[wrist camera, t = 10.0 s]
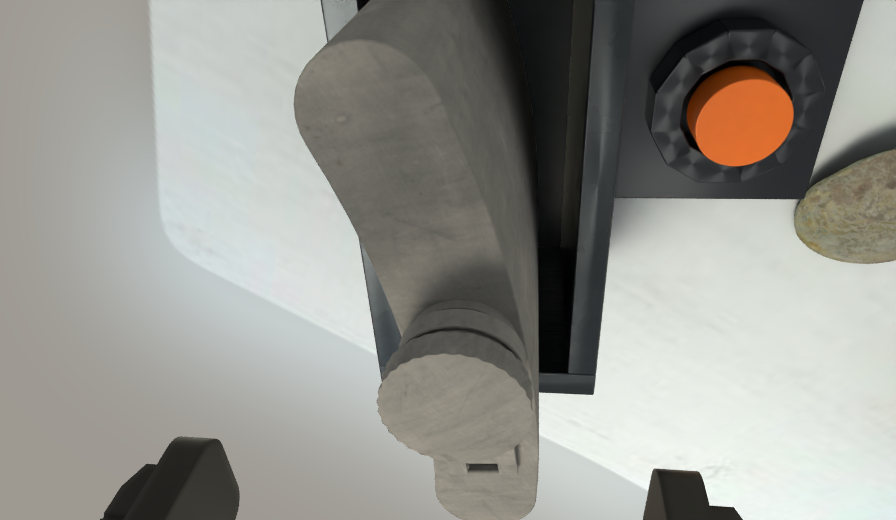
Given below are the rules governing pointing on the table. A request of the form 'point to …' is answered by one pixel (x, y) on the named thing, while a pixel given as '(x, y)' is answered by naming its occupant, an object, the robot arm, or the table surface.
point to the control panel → (710, 50)
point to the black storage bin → (584, 200)
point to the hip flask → (443, 230)
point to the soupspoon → (852, 212)
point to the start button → (739, 115)
